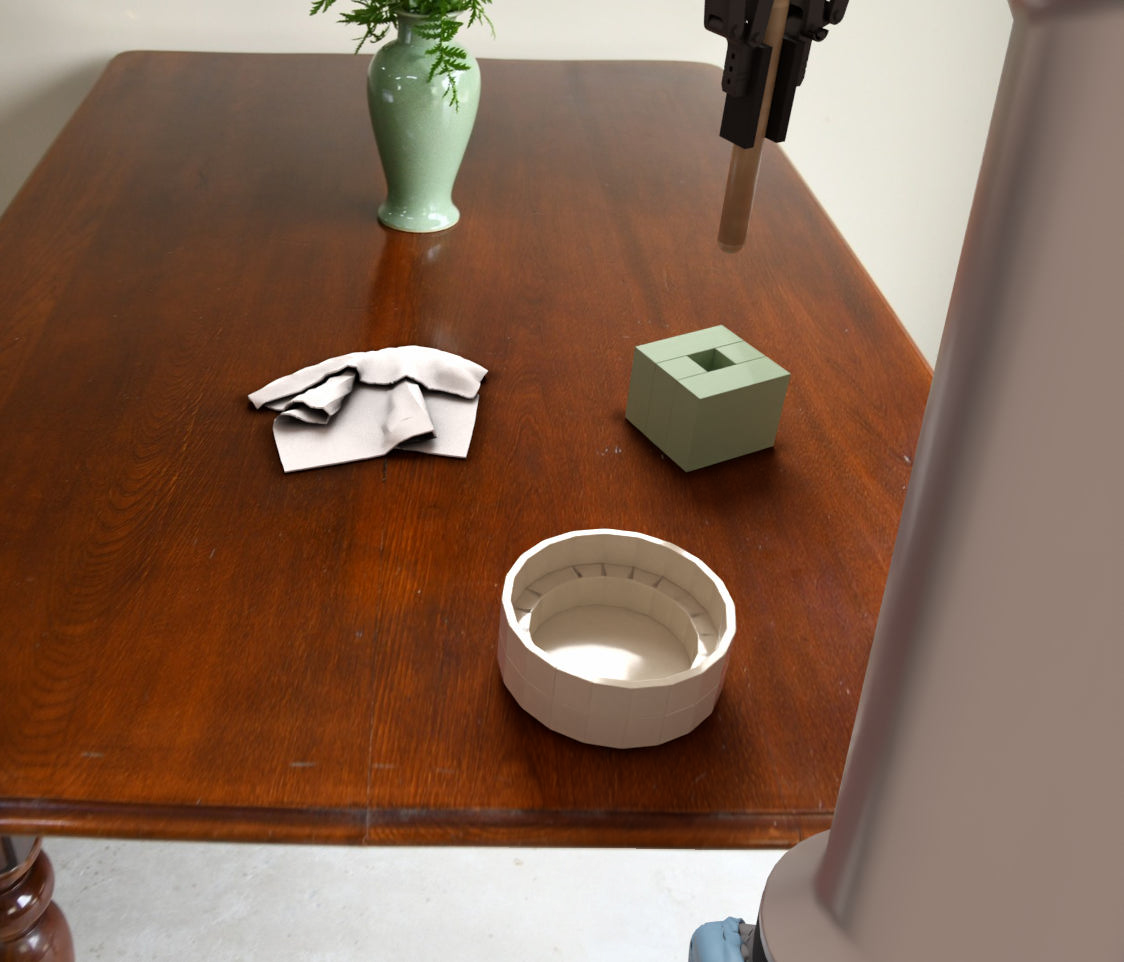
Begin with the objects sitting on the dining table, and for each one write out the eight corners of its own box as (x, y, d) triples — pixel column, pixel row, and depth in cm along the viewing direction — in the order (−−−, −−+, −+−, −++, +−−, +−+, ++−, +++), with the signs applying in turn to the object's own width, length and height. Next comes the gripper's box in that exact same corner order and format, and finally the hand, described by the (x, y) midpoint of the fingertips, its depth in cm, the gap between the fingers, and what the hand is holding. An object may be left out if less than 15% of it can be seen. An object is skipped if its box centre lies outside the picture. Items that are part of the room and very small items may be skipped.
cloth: (509, 364, 104) (511, 341, 102) (444, 504, 87) (445, 478, 86) (303, 331, 109) (301, 309, 107) (203, 457, 92) (200, 432, 91)
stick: (749, 255, 81) (799, -12, 70) (727, 260, 80) (773, -9, 70) (731, 244, 83) (777, -19, 72) (709, 249, 82) (752, -15, 71)
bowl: (766, 710, 70) (785, 641, 67) (571, 788, 66) (581, 719, 62) (636, 573, 81) (647, 507, 77) (460, 631, 76) (462, 564, 72)
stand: (773, 446, 93) (791, 373, 89) (686, 472, 90) (700, 399, 86) (708, 394, 100) (721, 324, 96) (624, 417, 97) (634, 346, 93)
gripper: (885, -288, 67) (801, 106, 82) (678, -281, 62) (627, 137, 77) (985, -280, 62) (876, 140, 76) (767, -272, 57) (694, 176, 71)
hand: (752, 138), depth 76 cm, fingers closed on stick, 2 cm apart
